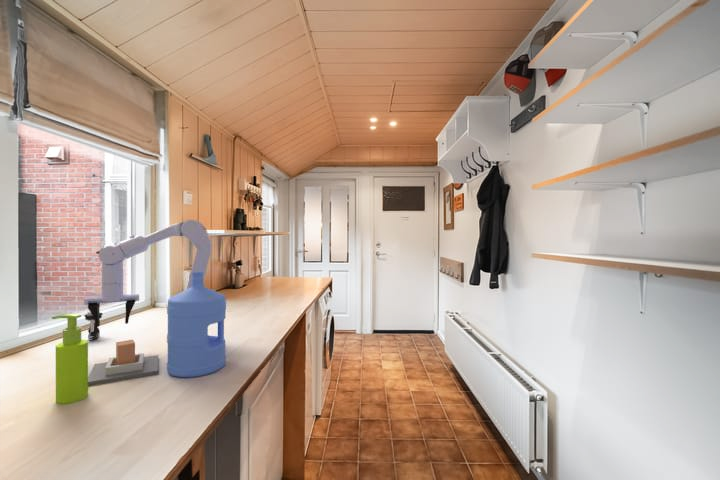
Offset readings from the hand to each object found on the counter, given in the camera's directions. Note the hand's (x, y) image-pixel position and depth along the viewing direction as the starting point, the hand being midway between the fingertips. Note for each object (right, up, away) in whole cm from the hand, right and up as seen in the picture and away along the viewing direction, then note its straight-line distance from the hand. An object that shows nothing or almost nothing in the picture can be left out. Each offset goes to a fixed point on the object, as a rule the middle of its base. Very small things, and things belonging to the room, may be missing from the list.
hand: (112, 324), depth 111 cm
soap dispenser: (+12, -10, -30) cm, 34 cm away
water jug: (+33, -10, -11) cm, 36 cm away
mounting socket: (+14, -10, -14) cm, 22 cm away
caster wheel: (-18, -9, +14) cm, 24 cm away
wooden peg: (+14, -9, -13) cm, 21 cm away
